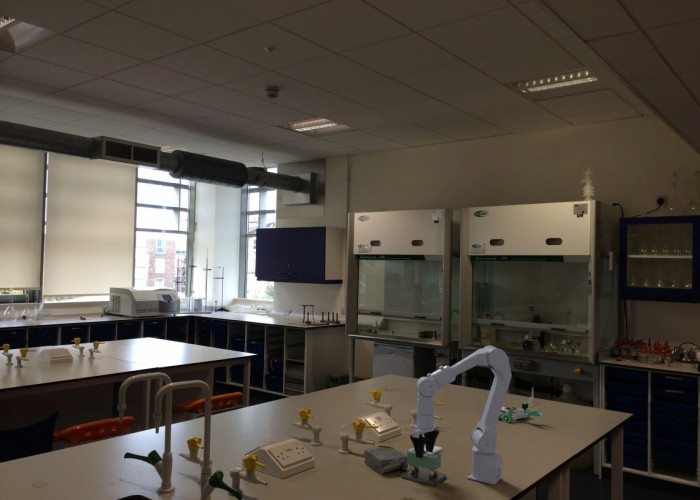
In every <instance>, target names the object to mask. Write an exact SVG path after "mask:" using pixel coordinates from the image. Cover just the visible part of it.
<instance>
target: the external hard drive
mask: <svg viewBox="0 0 700 500" xmlns="http://www.w3.org/2000/svg"><path fill="white" fill-rule="evenodd" d="M412 449H414V447H413V448H410V449H408V450H407V452H408V451H410V450H412ZM424 450H425V451H426V446H425V447H424ZM443 450H444V449H443V447H441V446H437V445H434V449H433V453H437V454H439V453H440V452H442V451H443Z"/></svg>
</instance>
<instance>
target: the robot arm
mask: <svg viewBox="0 0 700 500" xmlns="http://www.w3.org/2000/svg"><path fill="white" fill-rule="evenodd" d="M476 366H485V367H488V368H490V370H491V372H492V373H493V376H494V378H493V382H492V383H491V384H492V385H491V387H490V389H489V390H490V391H489V393H488V397H487V400H486V404H485V406H484V409H483V413H482V416H481V419H480V420H479V421H478V422H477V424H476V427H475V428H474V430H472V432H471V433H470V440H471V442H472V444H473V447H472V448H471V474H469V475H467V476H466V479H469V480H472V481H473V480H474V481H477V482H481V483H485V484H489V485H494V486H495V485H496V484H497V483H499V482H500V480H502V479H503V476H502V469H503V467H502V466H503V465H502V461H503V460H502V455H500V454H498V453H496V452H495V451H496V449H497V444H498V443H497V435H498V431H497V425H498V422H499V420H500V419H499V415H500V412H501V409H502V407H504V406H503V405H504V402H505V399H506V396H507V393H508V389H509V386H510V383H511V379H512V369H511V366H510V357H509V356H508V355H507V353H506V352H505V351H504V350H503V349H501V348H497V347H495V346H493V345H489V344H488V345H486V346H484V347H483V348H479V349H477V350H476V351H473V353H471V354H469V355H468V356H466V357H464V358H463V359H461V360H460V361H458V362H456V363H455V364H453V365H451V366H450V365H445V366H444V365H440V366H439V367H438V369H437V370H435V371H433V372H431V373H430V372H429V373H427V374H426V376H422V377H420V378H418V380H417V381H416V384H415V388H416V390H417V399H416V401H417V402H416V403H417V404H416V424H414V425H413V429H414V430H412V434H410V435H409V439H410V441H411V442H412V445H413V446H412V447H413V448H414V449H415V454H416V457H418V458H423V454H424V447H425V446H426V451H428V452H433V449H434V446H436V445H435V444H436V441H437V439H438V437H439V435H440V430H439V429H438V422H435V395H436V393H437V390H438V391H439V390H440V389H442V388H444V387H446V386H448V385H450V384H451V383H453V382H455V381H456V378H457V376H458V375H460V374H462V373H464V372H466V371H468V370H471V369H472V368H474V367H476Z"/></svg>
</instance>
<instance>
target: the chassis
mask: <svg viewBox="0 0 700 500" xmlns="http://www.w3.org/2000/svg"><path fill="white" fill-rule="evenodd" d="M400 478H401V479H405V480H409V481H413V482H417V483H421V484H425V485H429V486H433V487H434V486H435V485H437V484H439V483H440V482H442V481H443V480H444V479H446V478H447V473H442V472H439V468H438V469H436V470H435V471H434V470H430V469H426V468H422V467H417V466H413V465H409V469H407V470H405V471H404V472H403V473H401V474H400Z"/></svg>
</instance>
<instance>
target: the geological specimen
mask: <svg viewBox="0 0 700 500" xmlns="http://www.w3.org/2000/svg"><path fill="white" fill-rule="evenodd" d="M363 453H364V461H363V463H364V464H366V465H367V466H368V467H370V468H371V469H373V470H374V471H376V472H377V473H378V474H380V475H383V474H385V473H390V472H392V471H397V470H401V469H402V471H408V468H409V464H407V455H406V454H405V453H403V452H402V451H400V450H398V449H396V448H395V447H394V446H389V445H377V446H373V447H370V448H365V449H364V451H363Z"/></svg>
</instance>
